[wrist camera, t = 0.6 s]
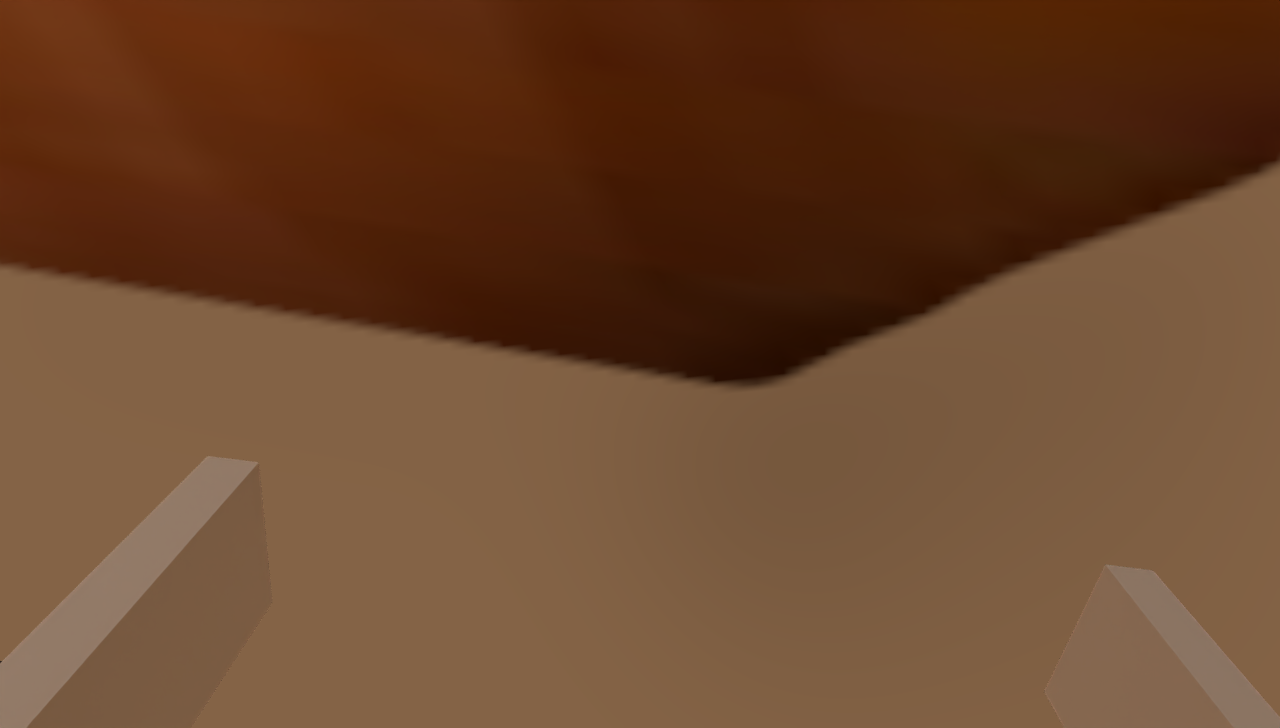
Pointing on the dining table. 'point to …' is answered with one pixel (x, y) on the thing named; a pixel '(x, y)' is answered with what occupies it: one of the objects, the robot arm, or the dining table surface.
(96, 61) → the dining table surface
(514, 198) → the dining table surface
